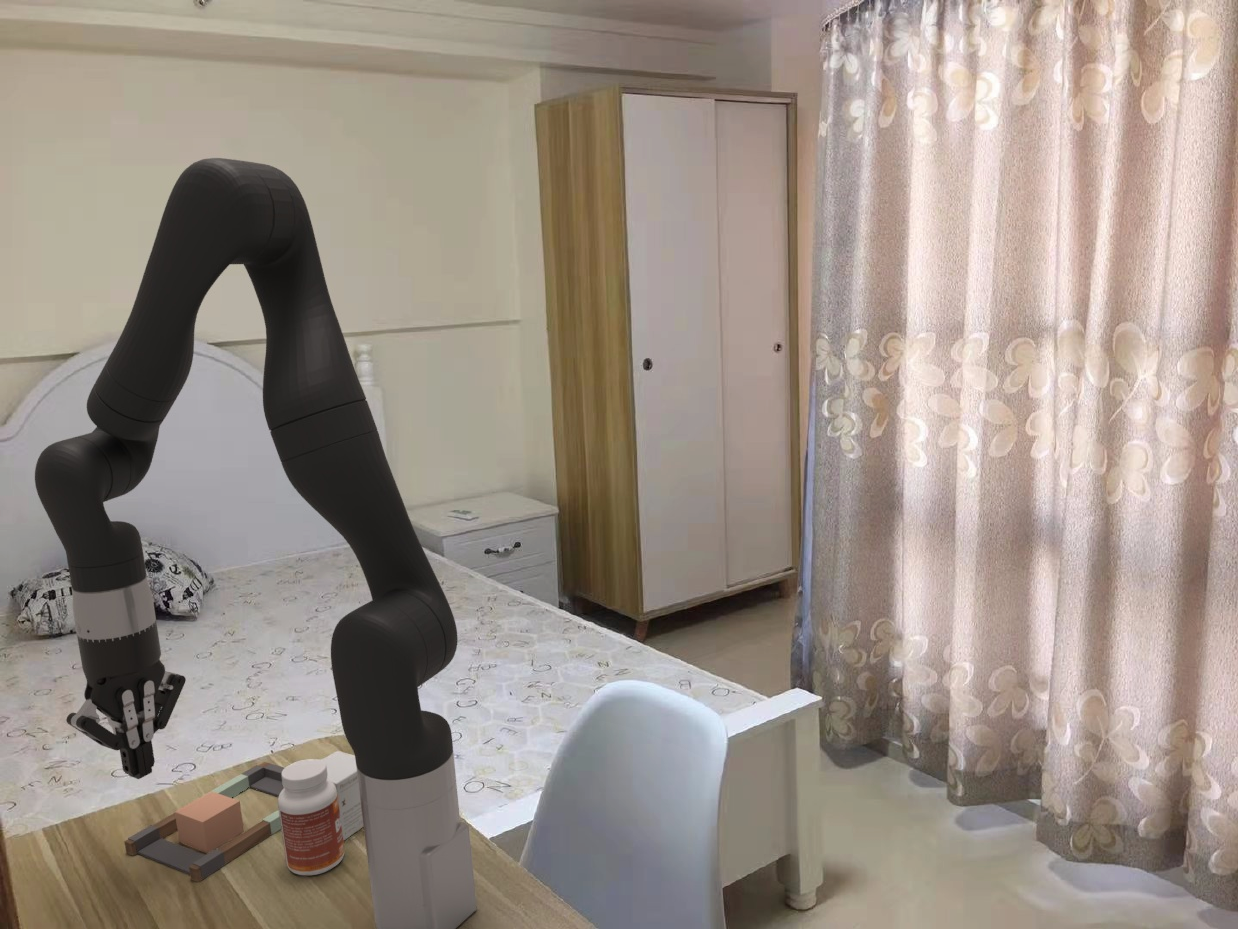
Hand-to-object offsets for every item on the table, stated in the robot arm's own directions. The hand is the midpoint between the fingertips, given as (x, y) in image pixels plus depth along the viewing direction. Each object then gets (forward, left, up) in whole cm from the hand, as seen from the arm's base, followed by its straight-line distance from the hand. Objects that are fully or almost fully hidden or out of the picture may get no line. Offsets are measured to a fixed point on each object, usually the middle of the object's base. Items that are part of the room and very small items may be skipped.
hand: (140, 774), depth 113 cm
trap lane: (0, -10, -11) cm, 15 cm away
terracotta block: (0, -7, -12) cm, 14 cm away
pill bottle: (-15, -9, -12) cm, 21 cm away
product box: (-12, -16, -12) cm, 23 cm away
